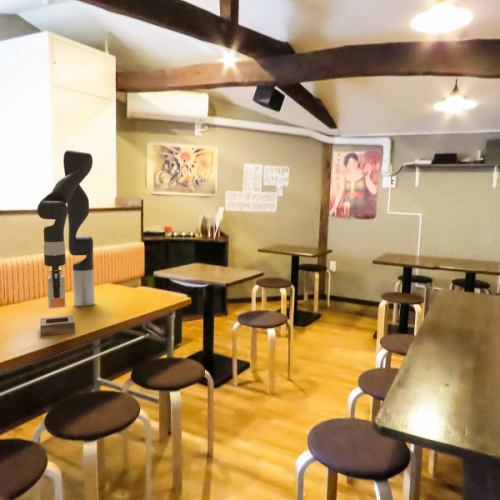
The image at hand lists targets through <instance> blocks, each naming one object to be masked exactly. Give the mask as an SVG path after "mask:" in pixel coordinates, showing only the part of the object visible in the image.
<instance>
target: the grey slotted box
mask: <svg viewBox="0 0 500 500" xmlns="http://www.w3.org/2000/svg"><path fill="white" fill-rule="evenodd" d="M75 323H76V322H75V319H74V315H73V314H72V315H63V316H62V315H61V316H50V317H43V318H40V321H39V327H40V328H39V329H40V337H47V336H56V335H65V334H75V333H76V328H75V327H76V326H75V325H76V324H75Z"/></svg>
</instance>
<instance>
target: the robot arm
mask: <svg viewBox="0 0 500 500" xmlns="http://www.w3.org/2000/svg"><path fill="white" fill-rule="evenodd" d="M63 154H64V155H63V169H64V177H63V178H61V179H59V181H57V182H56V184H55V186H54V188H53V189H52V191H51V192H49V193H48V194H47V195H46V196H45V197H44V198H42V199H41V201H40V202H39V203H38V205H37V209H36V210H37V215H38V217H39V218H41V219H43V220H55V221H54V223H53V224H52V225H46V226H45V227H44V228H43V263H44V266H46V267H51V269H49V274H50V277H51V282H52V283H53V293H54V298H59V297H60V282H61V276H62V269H61V268H59V267H60V266H62V267H63V266H65V265H66V263H67V262H66V261H67V260H66V244H65V234H64V233H65V232H64V231H65V225H66V221H68V251H69V254H70V255H71V256H76V257H78V256H85V257H84V258H83V259H82V260H79V261H77V262H75V263H73V264H72V280H73V299H74V300H73V301H74V302H73V303H74V306H75V307H88V306H89V307H90V306H92V305H95V281H94V280H95V279H94V275H95V274H94V239H93V238H92V236H91V235H79V236H78V235H77V233H78V231H79V229H80V227H81V226H82V225H83V223H84V222H85V221H86V219H87V218H88V216H89V213H90V200H89V197H88V195H87V194H86V193H87V192H85V190H84V189H83V187H82V186H81V185H80V184H81V183H82V182H83V180H84V179H85V178H86V177H87V176H88V175H89V174H90V172H91V171H92V168H93V163H94V162H93V161H94V160H93V156H92V154H91V153H89V152H86V151H80V150H74V149H66V150H65V152H64V153H63ZM52 276H53V277H52ZM55 282H58V284H56V285H54V283H55Z"/></svg>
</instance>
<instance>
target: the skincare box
mask: <svg viewBox="0 0 500 500" xmlns="http://www.w3.org/2000/svg"><path fill="white" fill-rule="evenodd" d="M52 277H53V276H52ZM65 278H66V277H65V275H61V282H60V297H59V298H54V293H53V283H52V282H51V276H47V301H48V303H47V304H48V308H49V309H59V308H66V307H67V306H66V305H67V304H66V279H65ZM56 284H58V282H55V283H54V285H56Z"/></svg>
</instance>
